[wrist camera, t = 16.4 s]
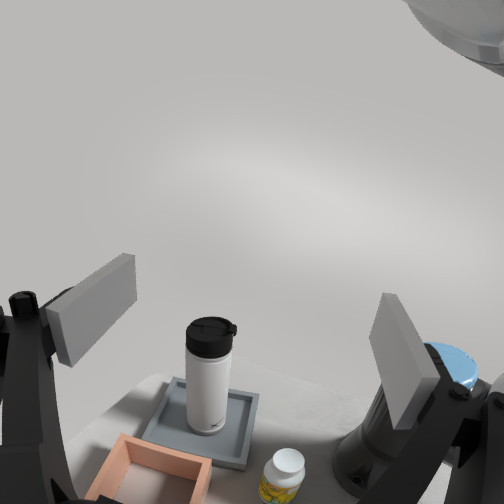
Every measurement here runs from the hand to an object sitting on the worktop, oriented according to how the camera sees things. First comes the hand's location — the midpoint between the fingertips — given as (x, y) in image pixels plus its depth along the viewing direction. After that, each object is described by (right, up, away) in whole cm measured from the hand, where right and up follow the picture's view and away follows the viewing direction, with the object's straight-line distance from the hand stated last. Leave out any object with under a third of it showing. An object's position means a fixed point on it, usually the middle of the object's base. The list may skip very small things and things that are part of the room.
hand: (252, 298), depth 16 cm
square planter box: (-13, -31, +15) cm, 37 cm away
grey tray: (-8, -26, +31) cm, 41 cm away
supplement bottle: (+3, -32, +19) cm, 37 cm away
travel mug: (-7, -26, +30) cm, 41 cm away
